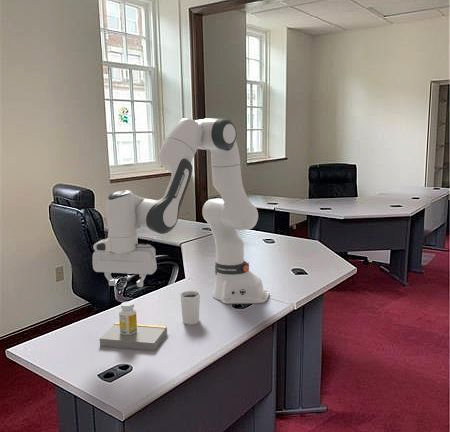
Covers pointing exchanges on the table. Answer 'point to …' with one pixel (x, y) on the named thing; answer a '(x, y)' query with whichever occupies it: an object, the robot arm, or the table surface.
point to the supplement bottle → (127, 318)
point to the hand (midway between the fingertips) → (126, 285)
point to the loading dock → (135, 337)
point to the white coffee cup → (190, 307)
